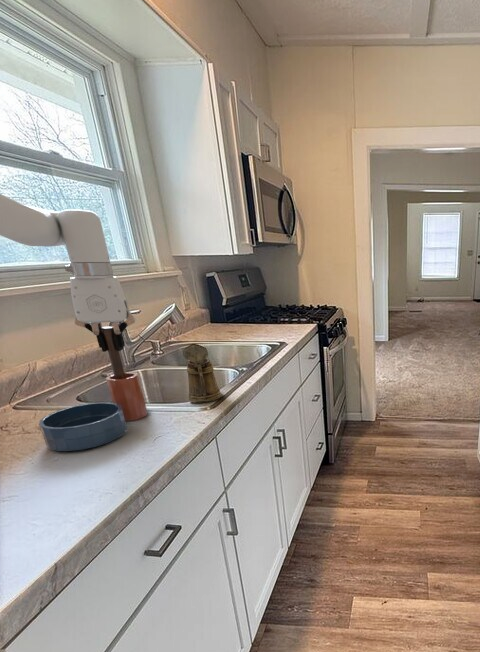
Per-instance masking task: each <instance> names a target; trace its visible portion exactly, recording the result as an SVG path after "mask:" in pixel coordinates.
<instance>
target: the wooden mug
mask: <svg viewBox="0 0 480 652" xmlns="http://www.w3.org/2000/svg"><path fill="white" fill-rule="evenodd" d="M182 355H183V357H184V358H185V360H187V365H186V373H187V379H188V380H187V381H188V394H187V396H188V398H187V399H188V401H189V402H190V403H195V404H205V403H210V402H214V401H217V400H219V399H220V398H221V397H222V393H221V390H220V388H219V386H218V383H217V380H216V377H215V373H214V371H215V369H214V366H213V364H212V363H211V360H210V359H209V358H208V357H209V351H208V349H207V348H206V347H205V346H203V345H200V344H197V343H191V344H189V345H187V346H186V347H185V348H184V349H183V350H182Z"/></svg>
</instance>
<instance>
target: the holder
mask: <svg viewBox="0 0 480 652" xmlns="http://www.w3.org/2000/svg"><path fill="white" fill-rule="evenodd" d="M125 375H126V378H124V379H115V377H114V373H113V374H110V375H108V376H106V378H105V379H106V383H107V387H108V391H109V394H110V398H111V402H112V403H116V404H118V405H120V406H121V407H122V410H123V414H124V417H125V421H126V422H132V421H136V420H140V419H143V418H145V417H147V415H148V408H147V405H146V402H145V397H144V394H143V389H142V386H141V382H140V381H141V380H140V377H139V374H138V373H137V372H134V371H127V372H125Z"/></svg>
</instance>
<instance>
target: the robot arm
mask: <svg viewBox="0 0 480 652" xmlns="http://www.w3.org/2000/svg"><path fill="white" fill-rule="evenodd" d="M0 236H1V237H3V238H5V239H7V240H11V241H12V242H14V243H15V242H16V243H18V244H21V245H24V246H29V247H50V248H51V247H58V246H59V247H61V246H65V247H66V252H67V255H68V259H69V264H68V265H64V270H65V272H66V273H71V274H72V275H73V277H70V278H69V282H70V283H69V284H70V293H71V300H72V306H73V311H74V314H75V319H74V325H76V326H78V327H82V328H85V329H87V331H89V332H91V333H92V334H93V335H94V336H96V341H97V344H98V348H100V349H101V352H102V353H106V352H108V350H107V347H106V343H105V339H104V335H103V331H102V327H103V325H102V323H111V325H112V326H111V327H113V329H114V335H113V338H114V342H115V346H116V350H117V351H120V352H121V351H122V350H124V347H125V346H126V343H125V339H124V334H123V333H124V331H125V330H126V329H127V327H130V326H131V325H133V324H134V323H136V322H137V319H136V317H134V315H133V314H132V312H131V311H130V308H129V305H128V301H127V298H126V296H125V292H124V289H123V287H122V285H121V282H120V280H119V278H118V276H115V275H114V271H113V267H112V266H113V265H112V263H111V259H110V255H109V250H108V246H107V242H106V238H105V233H104V229H103V225H102V221H101V218H100V216H99V215H98V214H97V213H96V212H95V211H92V210H85V209H84V210H83V209H63V210H60V211H56V210H50V209H44V208H40V207H35V206H30V205H26V204H24V203H21V202H19V201H17V200H14V199H12V198H10V197H8V196H5V195H3V194H2V193H0Z"/></svg>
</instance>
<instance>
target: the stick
mask: <svg viewBox="0 0 480 652" xmlns="http://www.w3.org/2000/svg"><path fill="white" fill-rule="evenodd" d="M102 331H103V335H104V339H105V343H106V347H107V354H108V358H109V361H110V366H111V369H112V372H113V374H114V377H115V379H124V378H126V375H125V367H124V363H123V359H122V355H121V351H117V350H116V346H115V342H114V338H113V335H114V329H113V326H102Z"/></svg>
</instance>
